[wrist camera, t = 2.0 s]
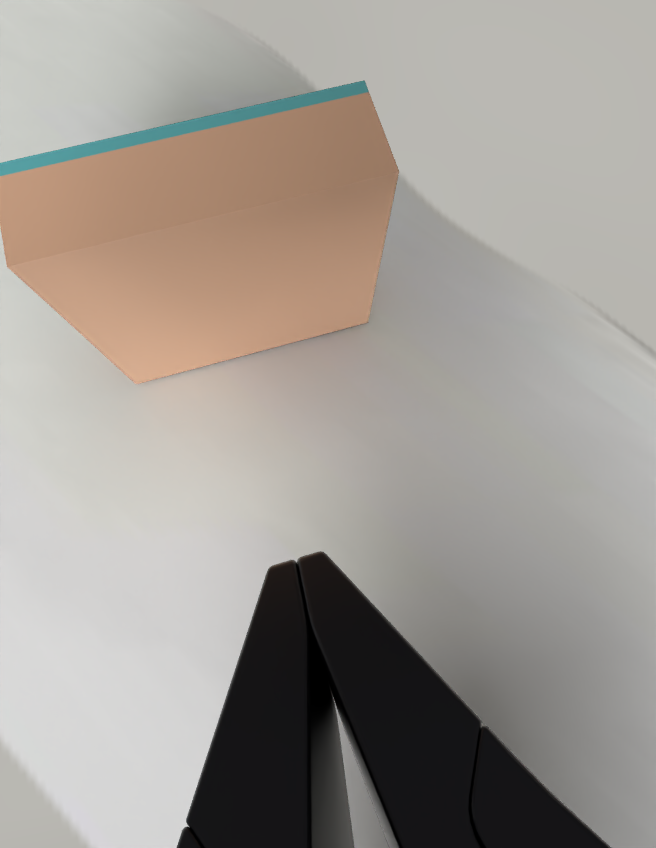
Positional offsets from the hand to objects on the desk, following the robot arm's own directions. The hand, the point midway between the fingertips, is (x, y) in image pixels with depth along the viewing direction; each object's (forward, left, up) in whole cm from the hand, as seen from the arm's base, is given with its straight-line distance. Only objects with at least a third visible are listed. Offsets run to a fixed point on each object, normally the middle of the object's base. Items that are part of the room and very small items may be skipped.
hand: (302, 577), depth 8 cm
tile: (+10, 0, -12) cm, 16 cm away
